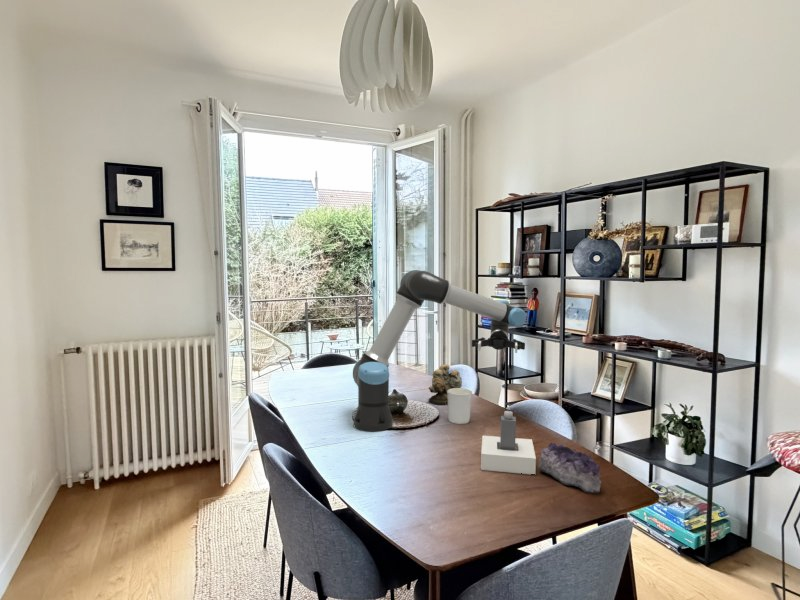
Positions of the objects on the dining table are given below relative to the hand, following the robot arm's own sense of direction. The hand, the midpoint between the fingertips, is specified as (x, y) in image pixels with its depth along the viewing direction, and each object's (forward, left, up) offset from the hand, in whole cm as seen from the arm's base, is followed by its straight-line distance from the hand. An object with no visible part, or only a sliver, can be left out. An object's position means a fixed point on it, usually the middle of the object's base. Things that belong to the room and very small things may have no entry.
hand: (497, 348), depth 178 cm
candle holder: (-14, +8, -32) cm, 36 cm away
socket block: (+4, -29, -31) cm, 43 cm away
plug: (+4, -29, -30) cm, 42 cm away
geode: (+22, -37, -32) cm, 53 cm away
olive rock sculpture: (-22, +34, -32) cm, 52 cm away
